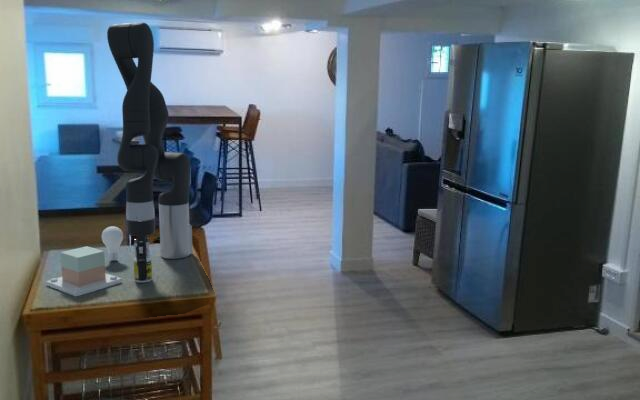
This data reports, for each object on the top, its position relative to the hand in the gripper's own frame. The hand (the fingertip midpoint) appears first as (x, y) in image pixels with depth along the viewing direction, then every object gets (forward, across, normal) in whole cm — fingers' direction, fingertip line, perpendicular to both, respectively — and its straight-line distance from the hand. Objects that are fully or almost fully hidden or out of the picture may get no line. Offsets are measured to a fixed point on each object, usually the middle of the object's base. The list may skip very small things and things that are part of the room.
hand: (143, 275), depth 169 cm
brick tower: (+1, 0, -16) cm, 16 cm away
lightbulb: (+2, -21, -10) cm, 23 cm away
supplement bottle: (+2, 0, 0) cm, 2 cm away
